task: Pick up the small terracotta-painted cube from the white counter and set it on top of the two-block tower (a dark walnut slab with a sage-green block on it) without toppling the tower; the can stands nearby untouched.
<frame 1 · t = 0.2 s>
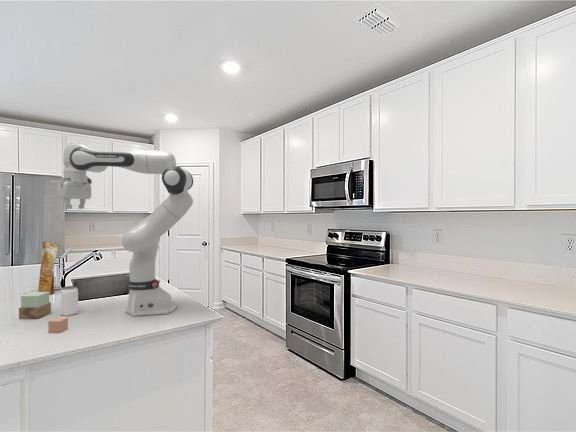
hand: (75, 208, 152), 47 cm above the countertop, fingers open, 8 cm apart
can: (69, 314, 148), on the countertop
tower base: (35, 316, 145), on the countertop, touching tower top
cube: (58, 330, 128), on the countertop
tower top: (35, 305, 144), point 5 cm above the countertop, touching tower base
pancake mix bag: (47, 292, 184), on the countertop
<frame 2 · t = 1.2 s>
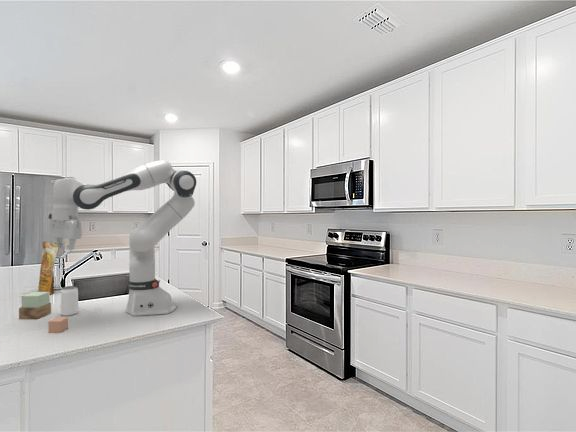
hand: (65, 248, 138), 31 cm above the countertop, fingers open, 8 cm apart
nothing on the countertop moved.
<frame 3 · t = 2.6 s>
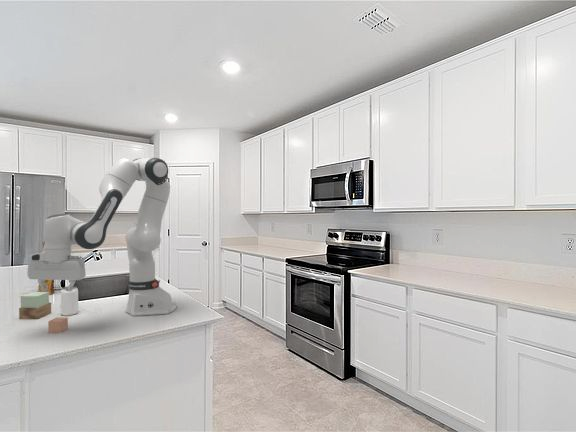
hand: (56, 290, 128), 16 cm above the countertop, fingers open, 8 cm apart
tower base: (35, 316, 145), on the countertop
tower top: (35, 305, 144), point 5 cm above the countertop
everything else where it was.
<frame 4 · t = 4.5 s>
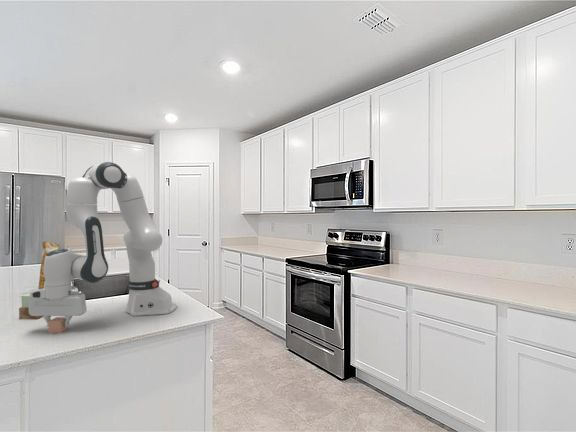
hand: (58, 326, 128), 2 cm above the countertop, fingers closed on cube, 4 cm apart
tower base: (35, 316, 145), on the countertop, touching tower top
cube: (58, 330, 128), on the countertop, touching gripper
tower top: (36, 305, 145), point 5 cm above the countertop, touching tower base
everything else where it was.
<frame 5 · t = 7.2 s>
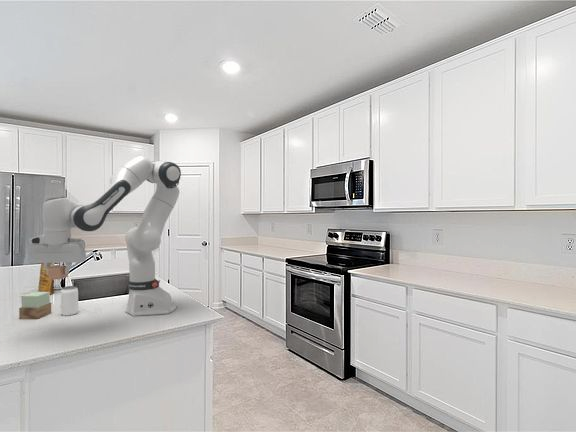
hand: (58, 273, 128), 22 cm above the countertop, fingers closed on cube, 4 cm apart
cube: (58, 278, 128), point 21 cm above the countertop, touching gripper
everything else where it was.
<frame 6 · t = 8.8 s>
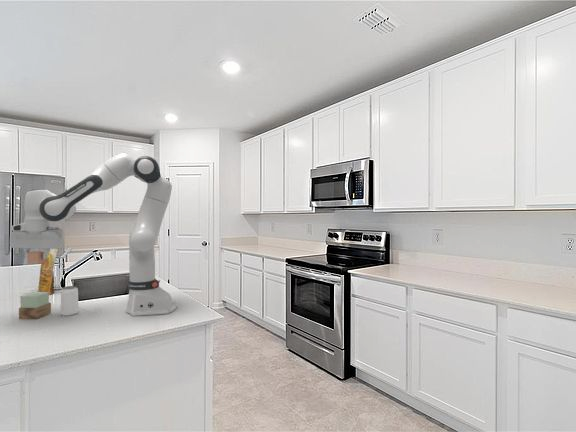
hand: (36, 258, 141), 26 cm above the countertop, fingers closed on cube, 4 cm apart
tower base: (35, 316, 145), on the countertop
cube: (36, 262, 141), point 24 cm above the countertop, touching gripper
tower top: (35, 305, 144), point 5 cm above the countertop
everything else where it was.
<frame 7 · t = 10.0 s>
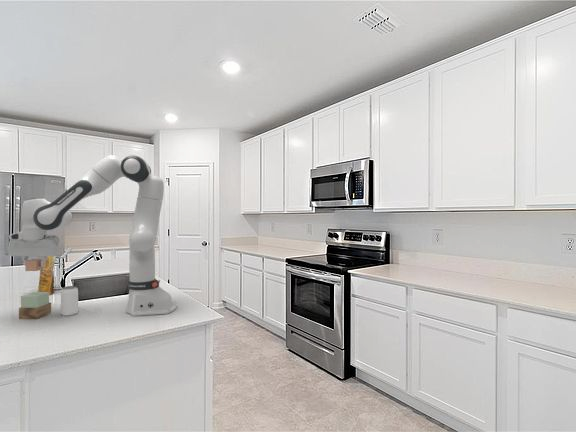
hand: (34, 266, 144), 22 cm above the countertop, fingers closed on cube, 4 cm apart
tower base: (35, 316, 145), on the countertop, touching tower top
cube: (34, 270, 144), point 20 cm above the countertop, touching gripper
tower top: (35, 305, 144), point 5 cm above the countertop, touching tower base
everything else where it was.
when the fingers open (13 cm above the countertop, at t = 12.3 s): cube drops 1 cm, resting on tower top.
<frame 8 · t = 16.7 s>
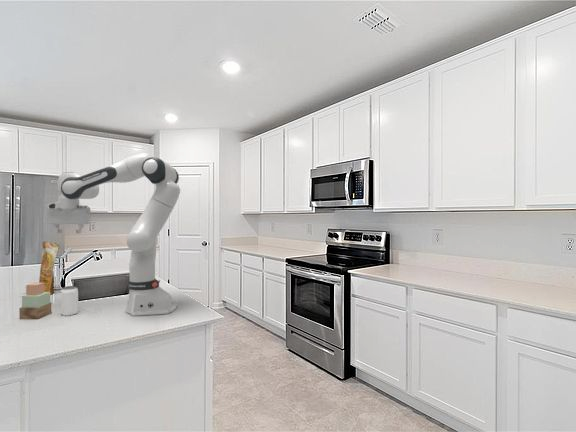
hand: (68, 233, 163), 35 cm above the countertop, fingers open, 8 cm apart
cube: (35, 294, 144), point 10 cm above the countertop, touching tower top
tower top: (36, 305, 144), point 5 cm above the countertop, touching cube, tower base
everything else where it was.
at the end: cube inside the target area on the tower top (0.3 cm from its centre), point 5.0 cm above the tower top's base; tower top 0.3 cm off-centre on the tower base, point 5.0 cm above the tower base's base; cube tilted 0° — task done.
